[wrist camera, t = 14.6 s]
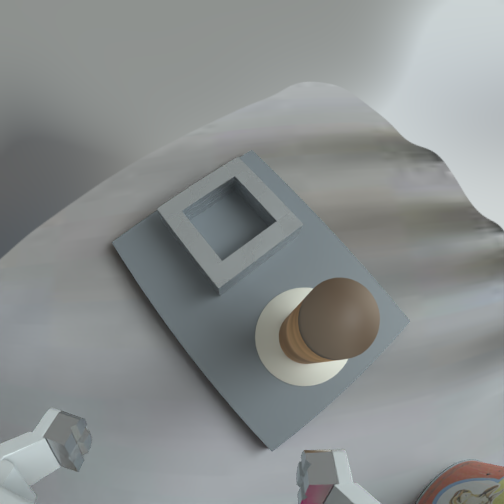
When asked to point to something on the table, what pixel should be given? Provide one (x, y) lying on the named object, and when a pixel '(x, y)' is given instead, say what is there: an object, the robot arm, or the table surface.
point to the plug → (331, 323)
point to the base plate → (254, 308)
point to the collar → (209, 193)
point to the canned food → (466, 485)
